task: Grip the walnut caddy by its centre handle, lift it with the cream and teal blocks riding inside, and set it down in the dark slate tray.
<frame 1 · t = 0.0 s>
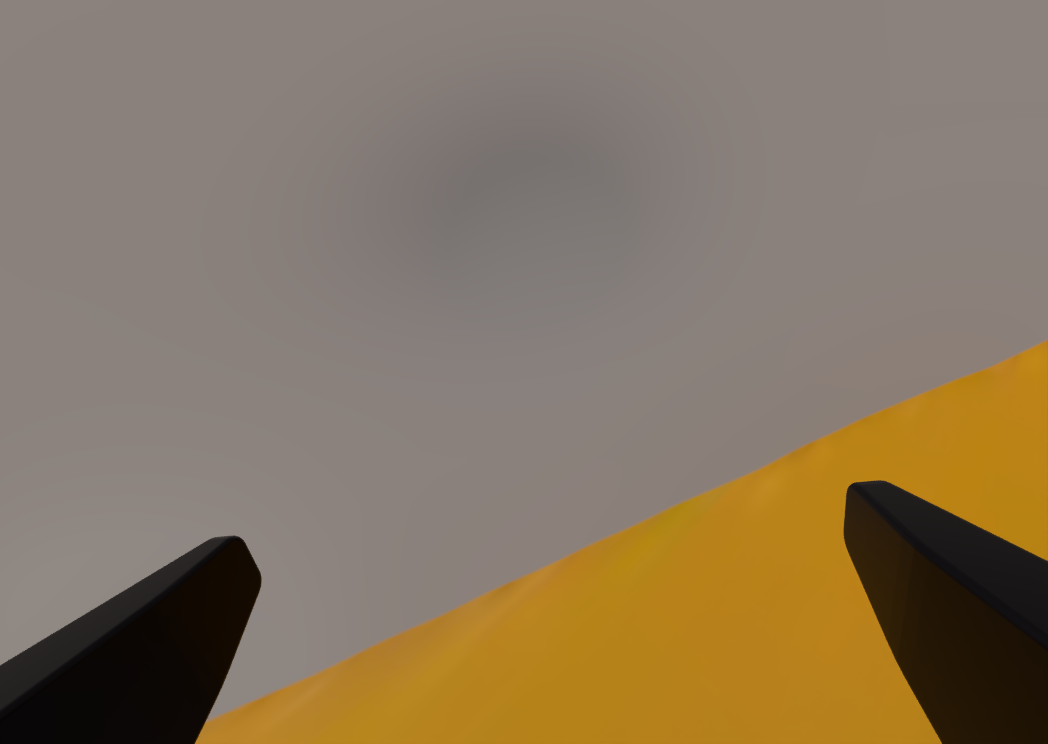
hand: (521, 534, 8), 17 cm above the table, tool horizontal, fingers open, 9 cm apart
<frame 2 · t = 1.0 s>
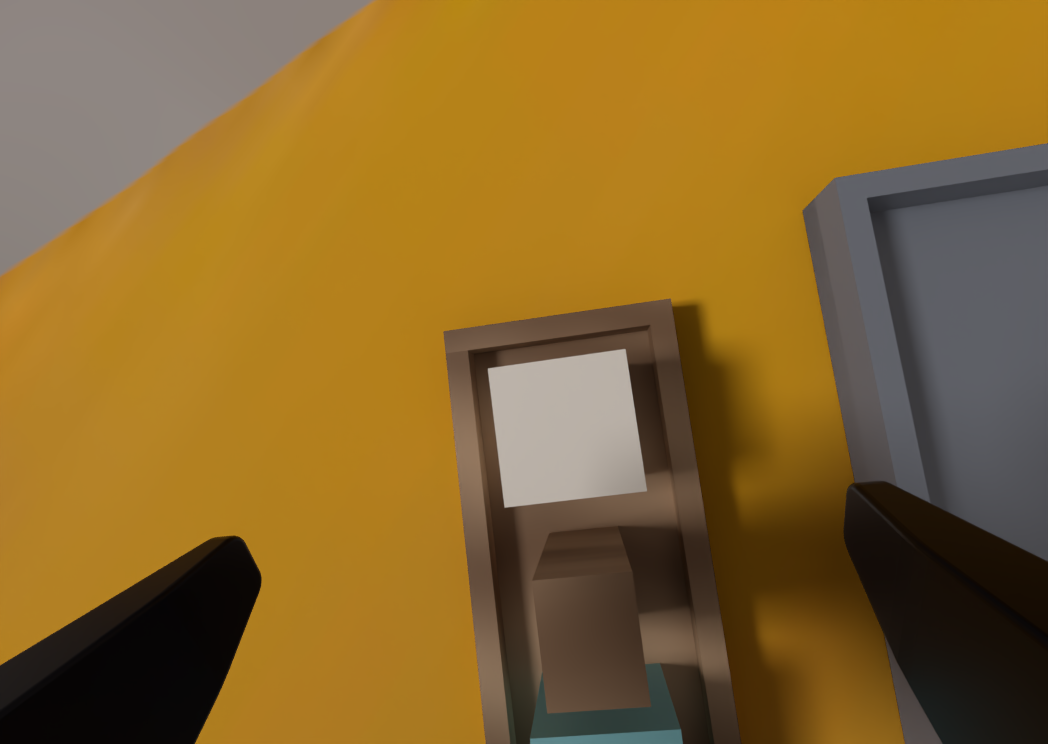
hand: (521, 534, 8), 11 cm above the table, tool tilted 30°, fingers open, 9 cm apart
cream block: (568, 427, 19), resting in caddy
caddy: (588, 566, 19), on the table, touching teal block
teal block: (608, 730, 18), resting on caddy
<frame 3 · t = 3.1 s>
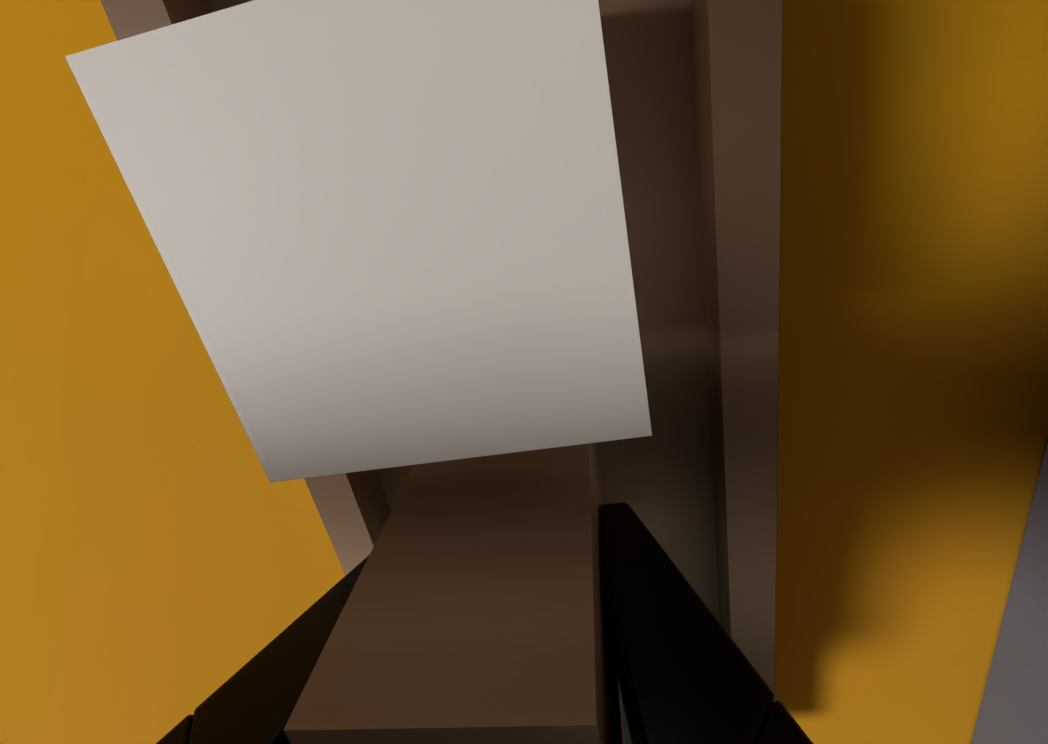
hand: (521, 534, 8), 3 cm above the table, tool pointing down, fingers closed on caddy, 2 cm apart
cream block: (473, 203, 8), point 1 cm above the table, touching caddy
caddy: (537, 421, 11), on the table, touching cream block, gripper, teal block
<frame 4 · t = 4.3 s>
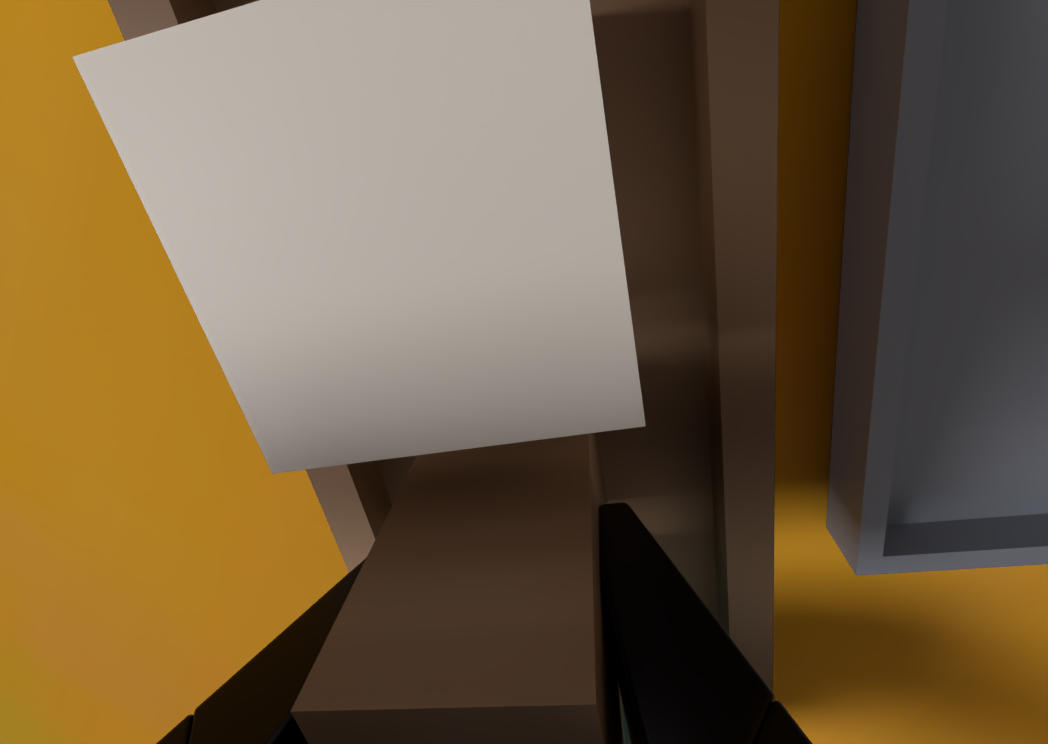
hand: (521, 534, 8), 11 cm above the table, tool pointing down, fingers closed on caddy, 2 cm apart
cream block: (471, 201, 8), point 9 cm above the table, touching caddy
caddy: (537, 416, 11), point 8 cm above the table, touching cream block, gripper, teal block
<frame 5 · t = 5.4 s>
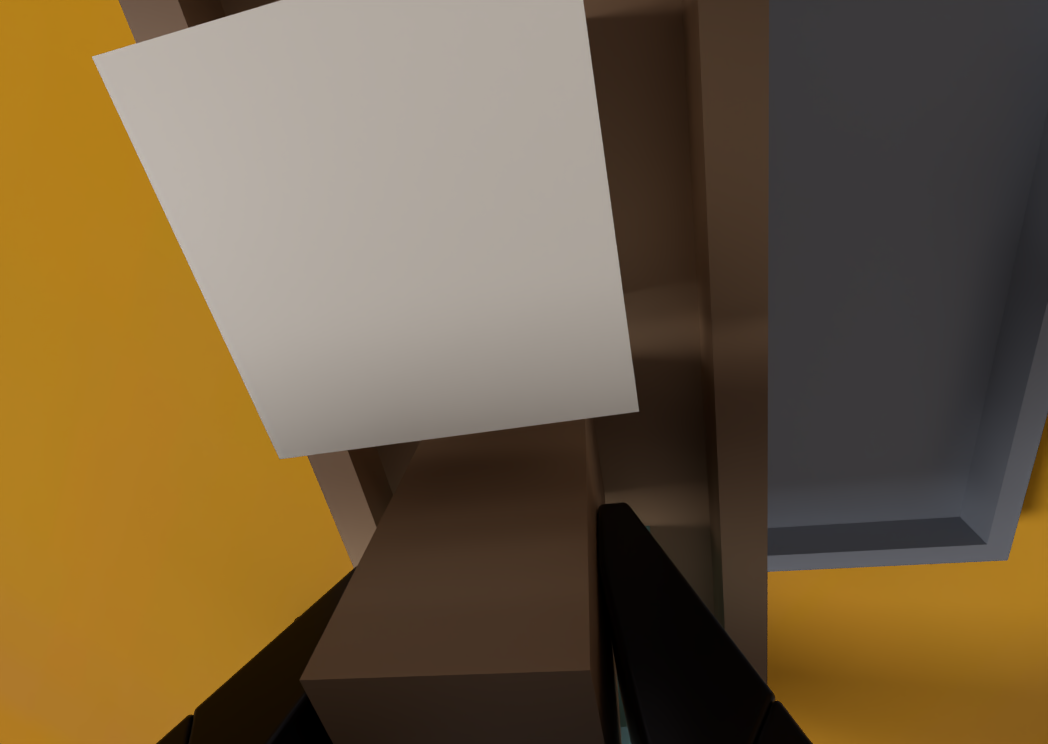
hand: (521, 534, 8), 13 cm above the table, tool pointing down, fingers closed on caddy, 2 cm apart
cream block: (472, 197, 8), point 10 cm above the table, touching caddy
caddy: (536, 410, 11), point 9 cm above the table, touching cream block, gripper, teal block
tray: (767, 267, 18), on the table
teal block: (567, 601, 12), point 10 cm above the table, touching caddy
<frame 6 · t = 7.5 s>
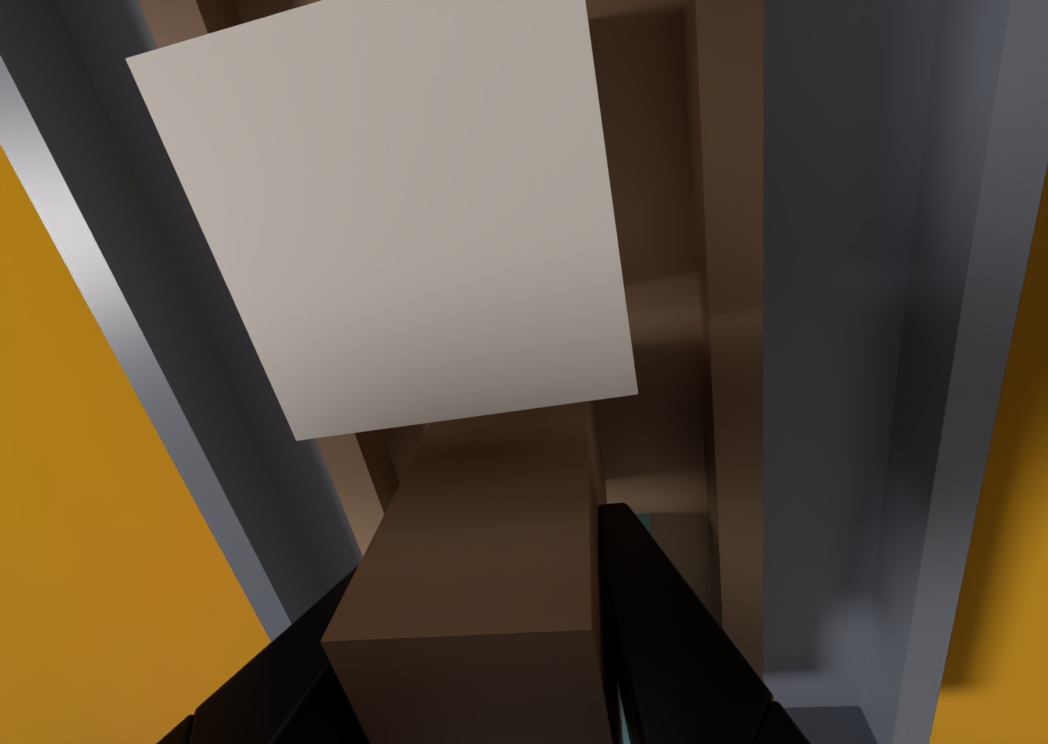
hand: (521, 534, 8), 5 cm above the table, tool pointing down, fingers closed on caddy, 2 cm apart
cream block: (477, 192, 9), point 2 cm above the table, touching caddy
caddy: (539, 400, 11), point 1 cm above the table, touching cream block, gripper, teal block, tray
tray: (546, 380, 12), on the table
teal block: (569, 587, 12), point 2 cm above the table, touching caddy
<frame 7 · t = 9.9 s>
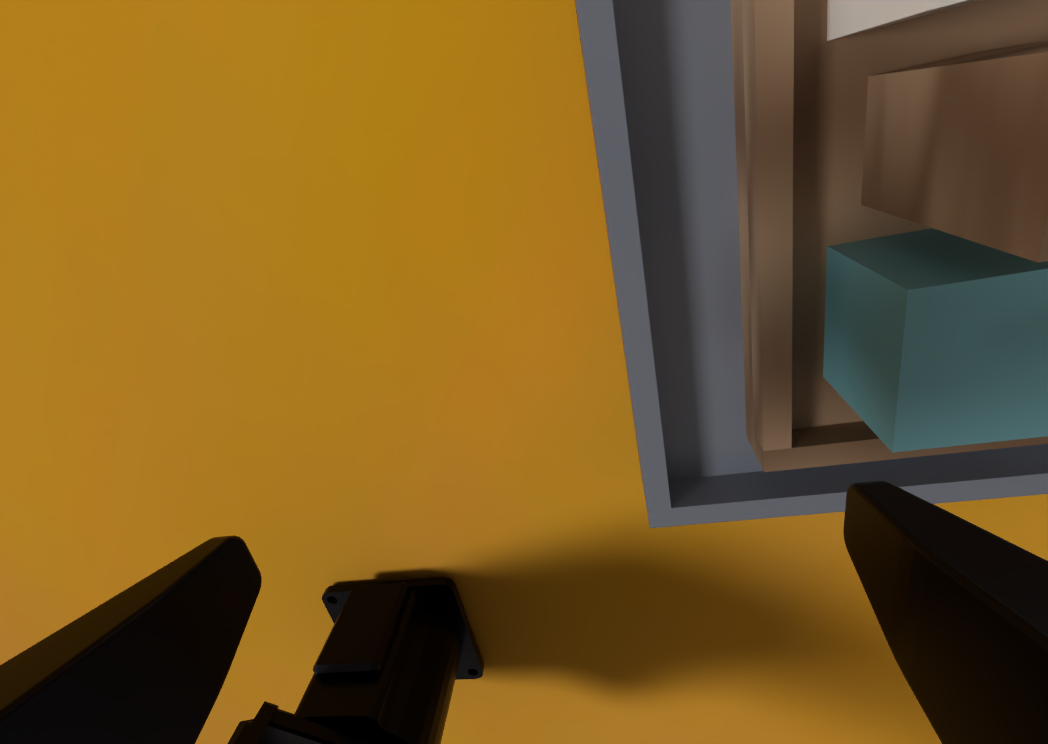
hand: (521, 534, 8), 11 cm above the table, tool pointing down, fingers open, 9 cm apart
caddy: (896, 131, 14), point 1 cm above the table, touching cream block, teal block, tray
tray: (880, 130, 15), on the table
teal block: (901, 303, 15), point 2 cm above the table, touching caddy
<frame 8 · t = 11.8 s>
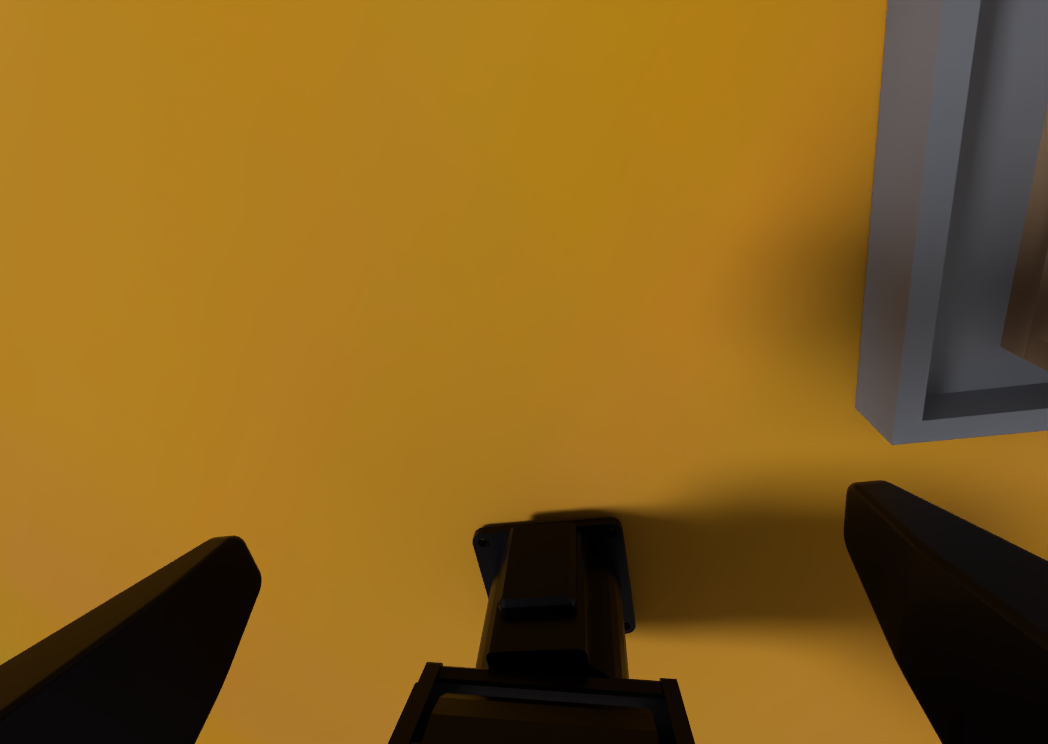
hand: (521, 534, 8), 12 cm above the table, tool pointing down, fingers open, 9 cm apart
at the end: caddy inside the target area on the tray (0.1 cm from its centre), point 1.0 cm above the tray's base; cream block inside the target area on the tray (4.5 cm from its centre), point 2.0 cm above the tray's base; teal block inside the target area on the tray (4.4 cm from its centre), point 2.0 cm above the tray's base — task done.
